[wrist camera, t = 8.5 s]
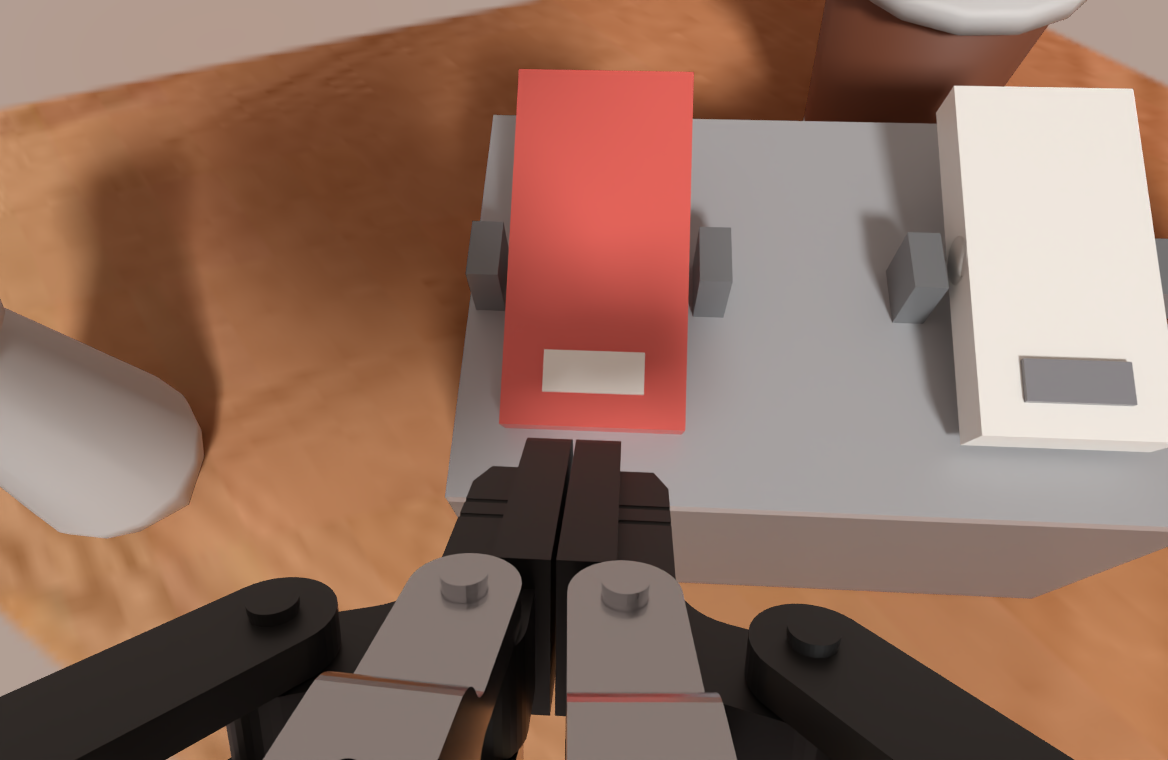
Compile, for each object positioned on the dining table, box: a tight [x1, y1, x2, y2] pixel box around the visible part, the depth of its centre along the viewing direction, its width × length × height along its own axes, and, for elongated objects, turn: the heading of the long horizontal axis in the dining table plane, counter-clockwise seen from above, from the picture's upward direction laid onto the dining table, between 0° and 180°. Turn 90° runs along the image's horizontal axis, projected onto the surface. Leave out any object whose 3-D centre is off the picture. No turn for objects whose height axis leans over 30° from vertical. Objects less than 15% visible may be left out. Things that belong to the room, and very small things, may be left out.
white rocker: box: [936, 86, 1168, 452], centre depth 20 cm, size 4×9×1 cm, turn 177°
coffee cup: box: [803, 0, 1087, 124], centre depth 30 cm, size 9×9×12 cm
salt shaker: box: [0, 299, 204, 538], centre depth 24 cm, size 6×6×13 cm
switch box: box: [445, 115, 1168, 598], centre depth 25 cm, size 18×12×11 cm, turn 87°
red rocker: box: [499, 69, 694, 435], centre depth 20 cm, size 4×9×1 cm, turn 177°
